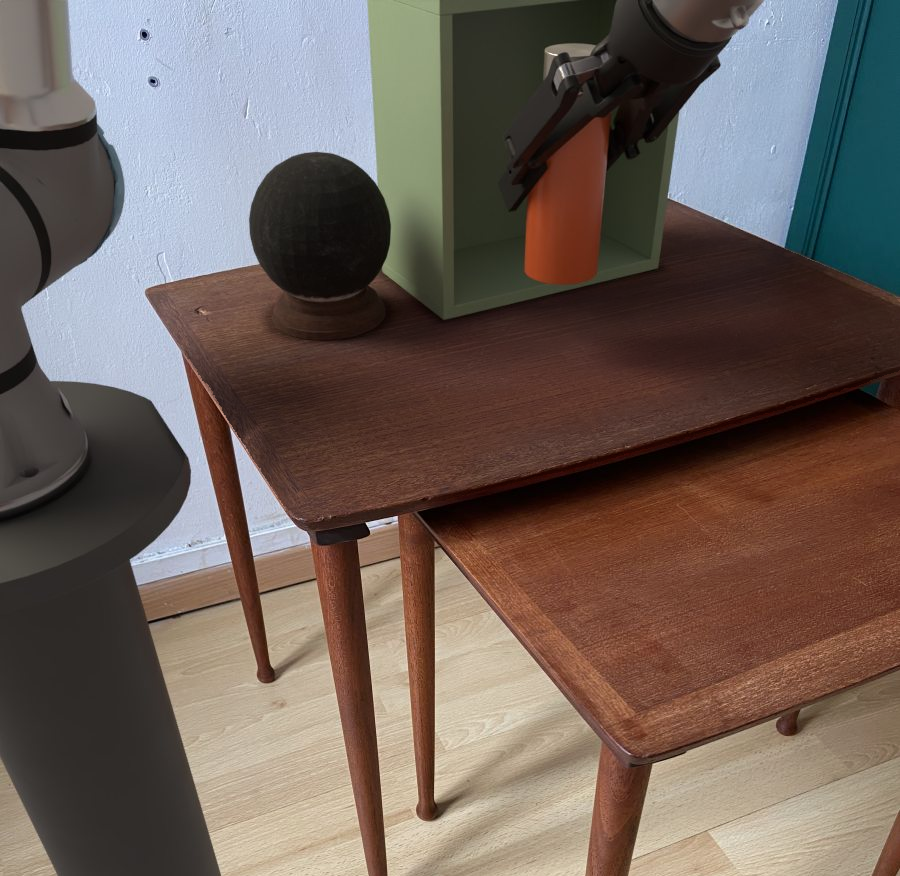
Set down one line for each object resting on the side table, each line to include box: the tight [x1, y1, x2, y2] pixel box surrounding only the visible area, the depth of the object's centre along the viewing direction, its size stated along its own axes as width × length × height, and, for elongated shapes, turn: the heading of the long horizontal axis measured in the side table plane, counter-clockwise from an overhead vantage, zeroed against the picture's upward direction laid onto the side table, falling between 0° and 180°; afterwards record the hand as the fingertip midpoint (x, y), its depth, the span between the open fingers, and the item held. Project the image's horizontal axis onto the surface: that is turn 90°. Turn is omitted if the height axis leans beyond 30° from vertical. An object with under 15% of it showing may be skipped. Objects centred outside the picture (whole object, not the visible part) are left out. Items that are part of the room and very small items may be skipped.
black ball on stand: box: [248, 151, 391, 341], centre depth 90 cm, size 13×13×15 cm
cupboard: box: [366, 0, 680, 321], centre depth 94 cm, size 14×26×27 cm, turn 119°
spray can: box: [524, 43, 611, 285], centre depth 78 cm, size 6×6×17 cm
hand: (542, 189), depth 82 cm, fingers closed on spray can, 6 cm apart
